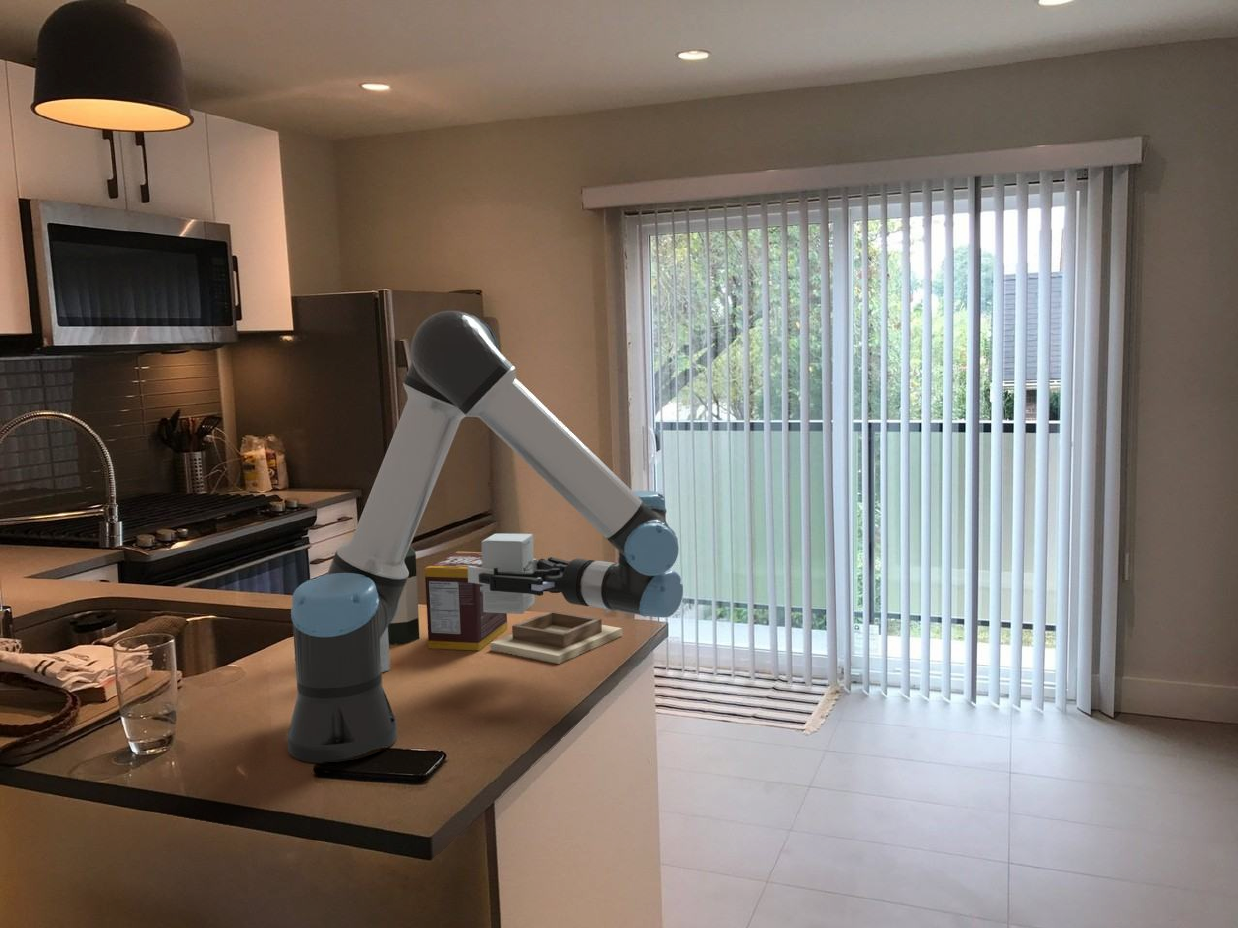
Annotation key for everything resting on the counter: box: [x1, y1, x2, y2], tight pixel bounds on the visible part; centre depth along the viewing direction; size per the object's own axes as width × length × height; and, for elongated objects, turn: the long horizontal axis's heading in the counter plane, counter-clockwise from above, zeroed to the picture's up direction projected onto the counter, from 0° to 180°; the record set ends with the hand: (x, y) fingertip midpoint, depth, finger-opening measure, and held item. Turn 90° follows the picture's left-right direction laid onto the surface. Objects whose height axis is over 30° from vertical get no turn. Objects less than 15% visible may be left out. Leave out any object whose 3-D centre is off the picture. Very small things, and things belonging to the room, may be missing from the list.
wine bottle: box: [388, 545, 420, 646], centre depth 193 cm, size 8×8×30 cm
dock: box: [489, 610, 623, 665], centre depth 189 cm, size 20×16×4 cm
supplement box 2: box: [481, 533, 535, 615], centre depth 173 cm, size 7×7×13 cm
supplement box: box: [424, 551, 508, 652], centre depth 193 cm, size 10×15×16 cm
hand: (488, 568), depth 175 cm, fingers closed on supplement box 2, 9 cm apart
